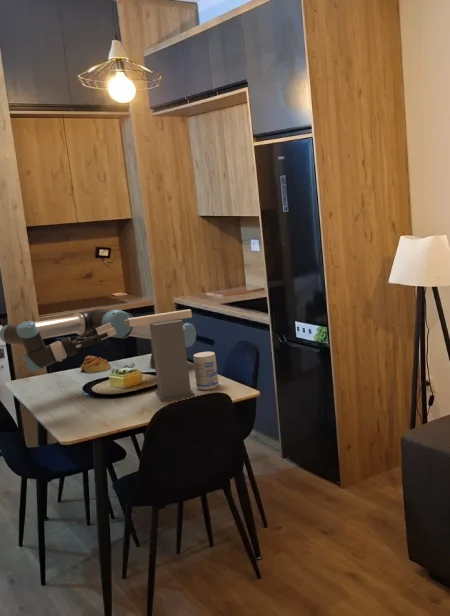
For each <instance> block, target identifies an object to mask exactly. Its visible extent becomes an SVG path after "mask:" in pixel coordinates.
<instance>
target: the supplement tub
mask: <svg viewBox="0 0 450 616" xmlns="http://www.w3.org/2000/svg"><path fill="white" fill-rule="evenodd" d="M193 367H194V373H195V383H196V388H197V389H198V390H201V391H202V390H203V391H204V390H206V391H207V390H213V389H216V388H217V387H218V386H219V378H218V367H217V357H216V354H215V352H214V351H202V352H197V353H194V354H193Z"/></svg>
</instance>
